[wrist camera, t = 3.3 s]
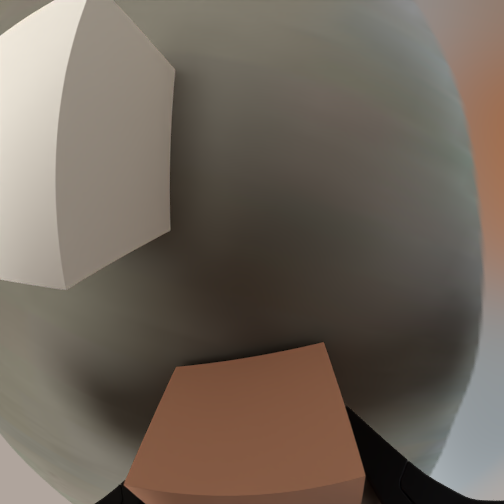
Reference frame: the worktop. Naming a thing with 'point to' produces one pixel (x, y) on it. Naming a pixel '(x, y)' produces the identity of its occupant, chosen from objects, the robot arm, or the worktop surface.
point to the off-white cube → (81, 142)
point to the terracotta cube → (251, 435)
